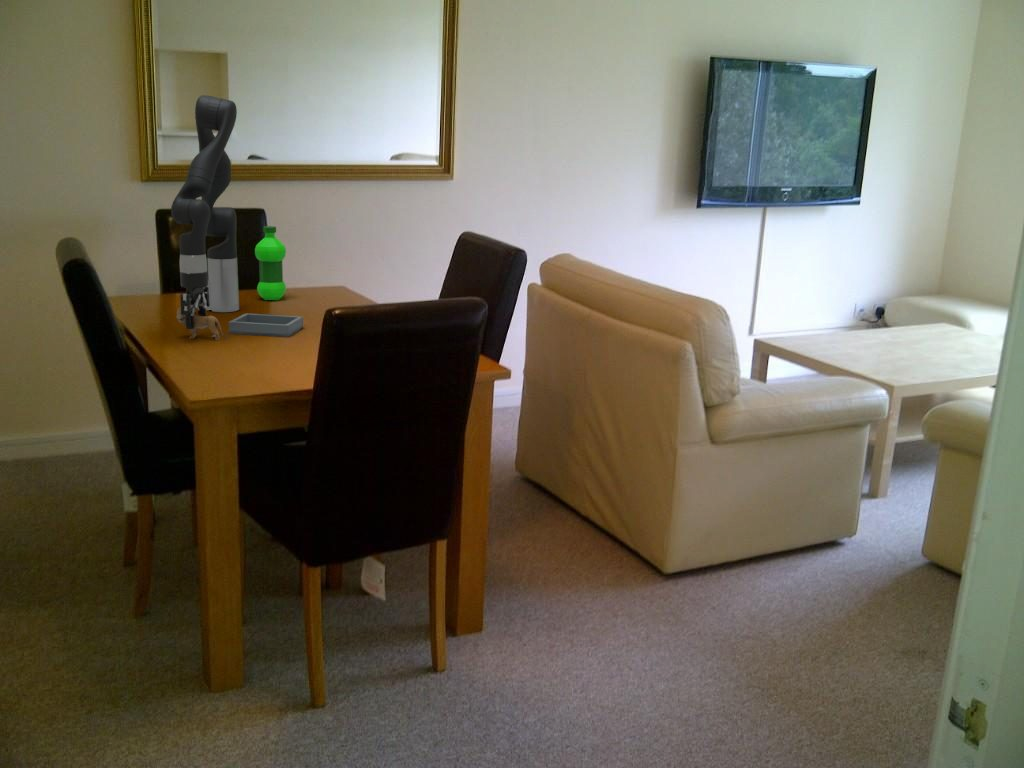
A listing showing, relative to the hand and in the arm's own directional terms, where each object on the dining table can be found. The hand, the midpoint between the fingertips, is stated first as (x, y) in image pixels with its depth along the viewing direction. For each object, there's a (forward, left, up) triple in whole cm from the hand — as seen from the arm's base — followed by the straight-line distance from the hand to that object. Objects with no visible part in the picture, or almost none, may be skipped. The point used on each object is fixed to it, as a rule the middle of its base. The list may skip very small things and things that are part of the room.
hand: (196, 325), depth 299 cm
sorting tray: (+16, +14, -4) cm, 21 cm away
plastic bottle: (0, +62, -4) cm, 62 cm away
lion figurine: (+1, 0, -4) cm, 4 cm away
